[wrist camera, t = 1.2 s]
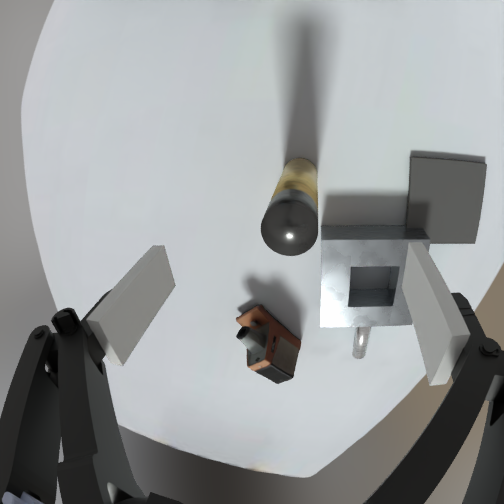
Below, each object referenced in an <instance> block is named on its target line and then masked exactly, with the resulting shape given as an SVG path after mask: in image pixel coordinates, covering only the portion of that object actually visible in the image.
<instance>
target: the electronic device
mask: <svg viewBox="0 0 504 504" xmlns="http://www.w3.org/2000/svg"><path fill="white" fill-rule="evenodd" d="M236 321H237V322H238V323H239V324H240V325H241V326H242V328H241V329H240V330H239V332H238V334H237V336H236V337H237V338H238V339H239V340H240V341H241V342H242V343H243V344H244V345H245V346H246V347H247V366H248V368H250V369H251V370H253V371H255V372H257V373H258V374H260V375H262V376H264V377H266V378H268V379H270V380H271V381H273V382H275V383H276V384H279V383H282V382H284V381H288V380H290V379H292V378H293V377H294V371H295V366H296V362H297V358H298V353H299V350H300V347H301V341H300V340H299V339H297V338H296V337H295V336H294V335H292V334H291V333H290V332H289V331H288V330H287V329H286V328H285V327H284V326H283V325H282V324H280V323H279V322H278V321H277V320H275V319H274V318H273V317H272V316H271V315H270V314H269V313H268V312H267V311H266V310H265V309H264V308H263V306H262V305H259V306H255V307H254V308H253V309H251V310H249V311H247V312H246V313H244V314H243V315H241V316H239V317H237V318H236Z"/></svg>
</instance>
